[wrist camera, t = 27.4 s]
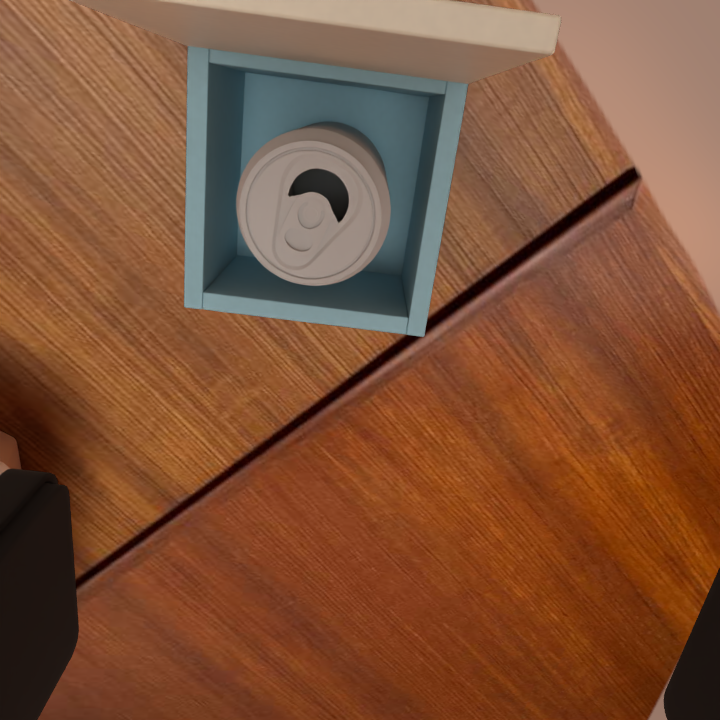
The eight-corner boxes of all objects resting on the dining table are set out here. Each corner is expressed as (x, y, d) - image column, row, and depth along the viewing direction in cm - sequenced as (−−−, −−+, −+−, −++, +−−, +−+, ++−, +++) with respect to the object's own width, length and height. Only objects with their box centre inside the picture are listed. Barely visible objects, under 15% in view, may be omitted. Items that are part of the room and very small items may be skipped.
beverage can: (406, 156, 35) (422, 180, 23) (353, 256, 37) (345, 320, 26) (304, 99, 33) (270, 95, 22) (256, 205, 36) (203, 249, 25)
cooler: (413, 287, 38) (424, 337, 30) (224, 263, 38) (183, 307, 30) (446, 81, 34) (470, 74, 26) (233, 52, 33) (187, 35, 25)
